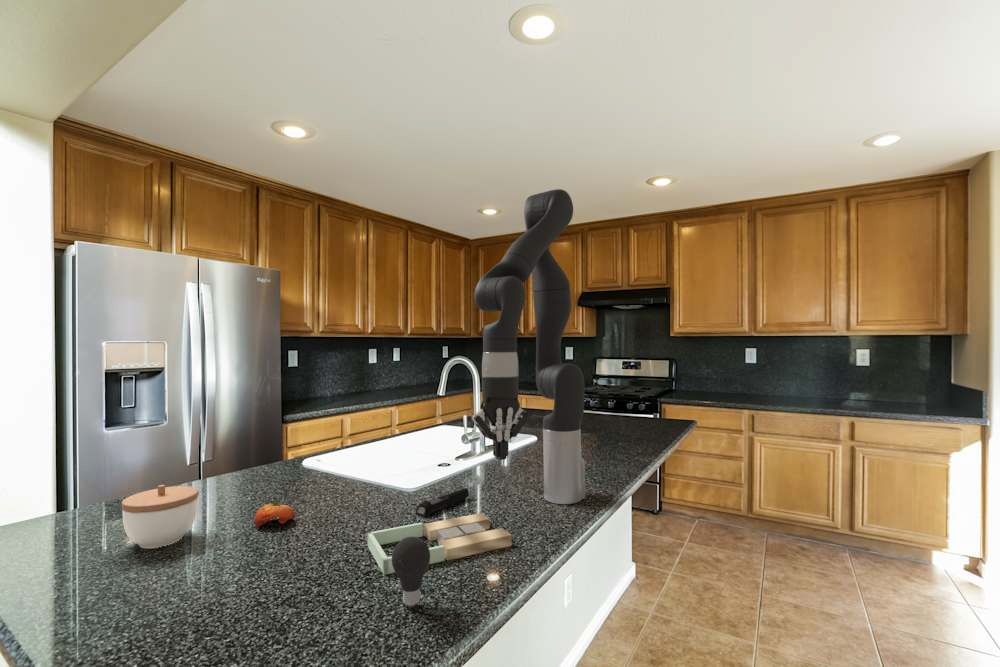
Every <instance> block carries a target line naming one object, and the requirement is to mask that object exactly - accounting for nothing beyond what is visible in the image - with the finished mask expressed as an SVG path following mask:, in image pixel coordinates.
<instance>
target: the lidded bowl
mask: <svg viewBox="0 0 1000 667" xmlns="http://www.w3.org/2000/svg"><path fill="white" fill-rule="evenodd" d="M199 494H200V493H199V489H198V488H196V487H195V486H194V487H193V486H189V485H188V486H187V485H177V486H174V485H173V486H166V484H161V485H157V488H154V489H148V490H145V491H141V492H137V493H135V494H132V495H130V496H128V497H126V498H124V499H123V500H122V501H121V510H122V521H123V522H122V523H123V528H124V531H125V533H126V535H127V537H128V538H129V539H130V540H131V541H132V542H133V543H135V544H136V545H138V546H139V547H140V548H141V549H145V550H146V549H148V550H149V549H150V550H151V549H159V547H160V548H163V547H162V546H164V547H167V545H168V546H171V545H173V543H174V544H176V543H178V542H180V541H181V540H183V538H184V536H185V535H186V534H187V533H188V532H189V531H190V530H191V527H193V525H194V523H195V521H196V518H197V513H198V507H199V506H198V505H199V504H198V503H199ZM182 537H183V538H182ZM180 539H181V540H180ZM179 540H180V541H179ZM177 541H178V542H177ZM175 542H176V543H175ZM170 544H171V545H170Z"/></svg>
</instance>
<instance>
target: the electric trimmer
mask: <svg viewBox="0 0 1000 667" xmlns="http://www.w3.org/2000/svg"><path fill="white" fill-rule="evenodd" d="M467 498H469V488H467V487H465V488H462V489H458V490H456V491H452V492H450V493H447V494H444V495H440V496H438V497H437V498H434V499H431V500H424V501H423V502H422V503H419V505H418V506H417V507H416V510H415V515H416V516H418V517H420V518H423V517H424V518H429V517H430V514H433V513H435V512H437V511H440V510H442V509H444V508H447V507H449V506H451V507H455V505H457V504H459V503H461V502H462V501H464V500H467ZM449 508H450V507H449Z"/></svg>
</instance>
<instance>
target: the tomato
mask: <svg viewBox="0 0 1000 667" xmlns="http://www.w3.org/2000/svg"><path fill="white" fill-rule="evenodd" d="M275 518H279V519H278V522H279V523H280V524H282V525H283V524H284V523H286V522H287V521H288V520H292V519H295V518H296V513H295V511H294V509H293V508H292V507H291V506H290V505H288V504H287V505H286V504H281V503H280V502H279V499H277V498H276V499H275V500H274V501H272V503H268V504H266V505H263V506H262V507H260V508H259V509H258V510H257V512H256V513H255V516H254V526H255V529H257V530H259V529H260V526H262V525H263V524H266V523H267V522H269V521H272V519H275ZM260 530H261V529H260Z"/></svg>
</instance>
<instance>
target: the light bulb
mask: <svg viewBox="0 0 1000 667" xmlns="http://www.w3.org/2000/svg"><path fill="white" fill-rule="evenodd" d="M429 548H430V547H429V546H428V544H427V543H426V542H425V541H424V540H423V539H421V538H420V537H407V538H404V539H403V540H401V541H398V543H396V545H395V547H394V549H393V551H392V554H391V556H392V566H393V568H394V571H395V572H394V573H395V574H396V576H397V577H398V579H399V582H400V587H401V589H402V600H403V604H405V605H406V606H408V607H409V608H413V607H415V606H416V605H417V604H418V603H420V598H421V587H422V583H423V578H424V576H425V573H426V572H427V570H428V568H429V565H430V564H429V562H430V551H429Z"/></svg>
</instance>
